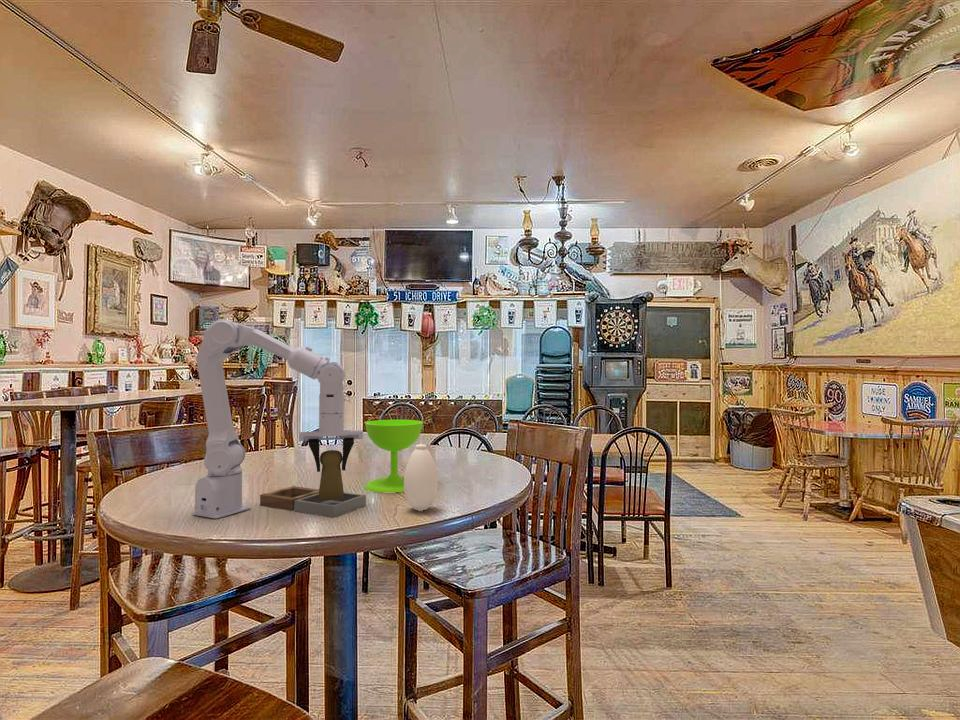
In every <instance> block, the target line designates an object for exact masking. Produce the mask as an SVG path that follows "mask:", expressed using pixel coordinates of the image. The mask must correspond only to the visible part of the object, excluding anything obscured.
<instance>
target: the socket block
mask: <svg viewBox="0 0 960 720" xmlns="http://www.w3.org/2000/svg"><path fill="white" fill-rule="evenodd" d="M318 493H319V488H318V489H317V488H310V487H303V486H294V485H293V486H287V487H284V488H281V489H277V490H272V491H270V492H266V493H261V494H260V495H259V505H260V506H262V505H263V507H269V508H270V507H271V508H275V507H276V508H277V509H282V510H283V509H284V510H288V511H294V500H298V499H301V498H304V497H308V496H311V495H314V494H318Z"/></svg>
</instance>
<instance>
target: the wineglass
mask: <svg viewBox="0 0 960 720" xmlns="http://www.w3.org/2000/svg"><path fill="white" fill-rule="evenodd" d="M423 423H424V422H423V421H422V420H415V419H379V420H370V421H366V422H365V423H364V424H365V431H366V434H367V435H368V438H369V439H370V440H371V442H372V443H373V444H374V445H376V446H377V447H378V448H380V449H381V450H385V451H387V452H390V474H389V475H388V477H382V478H376V479H372V480H370V481H369V482H367V483H366V484H365V486H364V489H365V490H366V491H368V490H369V492H371V491H373V492H372V493H377V492H404V477H403V476H402V477H401V476H400V474H399V473H398V464H399V463H398V461H399V460H398V457H399V456H398V452H400V451H403V450H405V449H407V448H410V447H411V446H412V445H413V444H414V443H416V441H417V440H418V439H419V437H420V436H421V434H422V433H421V432H422V431H423V430H422V429H423V425H424V424H423ZM404 493H405V492H404Z"/></svg>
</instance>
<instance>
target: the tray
mask: <svg viewBox="0 0 960 720" xmlns="http://www.w3.org/2000/svg"><path fill="white" fill-rule="evenodd" d="M318 496H319V493H318V494H314V495H311V496H308V497H304V498H301V499H298V500H294V510H293V511H294V512H297V513H304V514H307V515H314V514H316V515H317V516H320V515H322V517H327V516H328V517H329V518H333V517H334V518H335V517H339V516H341V514H342V515H344V514H347V513H350V512H353V511H355V510H358V509H361V508H363V507H366V506H367V495H365V494H362V493H352V492H345V491H344V497H343V498H341V499H337V500H321V499H319V498H318ZM365 505H366V506H365ZM360 507H361V508H360ZM357 508H358V509H357ZM354 509H355V510H354ZM349 511H350V512H349ZM316 515H315V516H316ZM328 517H327V518H328Z"/></svg>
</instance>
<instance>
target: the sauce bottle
mask: <svg viewBox="0 0 960 720" xmlns="http://www.w3.org/2000/svg"><path fill="white" fill-rule="evenodd" d="M419 437H420V438H419V444H418V443H417V444H416V445H415V449H414V450H413V452H412V453H411V455H410V456H409V458H408V461H407V464H406V467H405V469H404V470H405V471H404V477H403V478H404V497H405V499H406V501H407V503H408V505H409V506H410V507H412V508H413V510H415V511H417V510H418V511H417V512H424V511H423V510H428V509H429V506H432V505H433V503H434V501H435V499H436V498H437V494H438V489H439V477H438V475H439V474H438V470H437V467H436V463H435V461H434V457H433V456H432V454H431V452H430V451H429V449H428V446H427V444H423V435H422V433H420V436H419Z"/></svg>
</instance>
